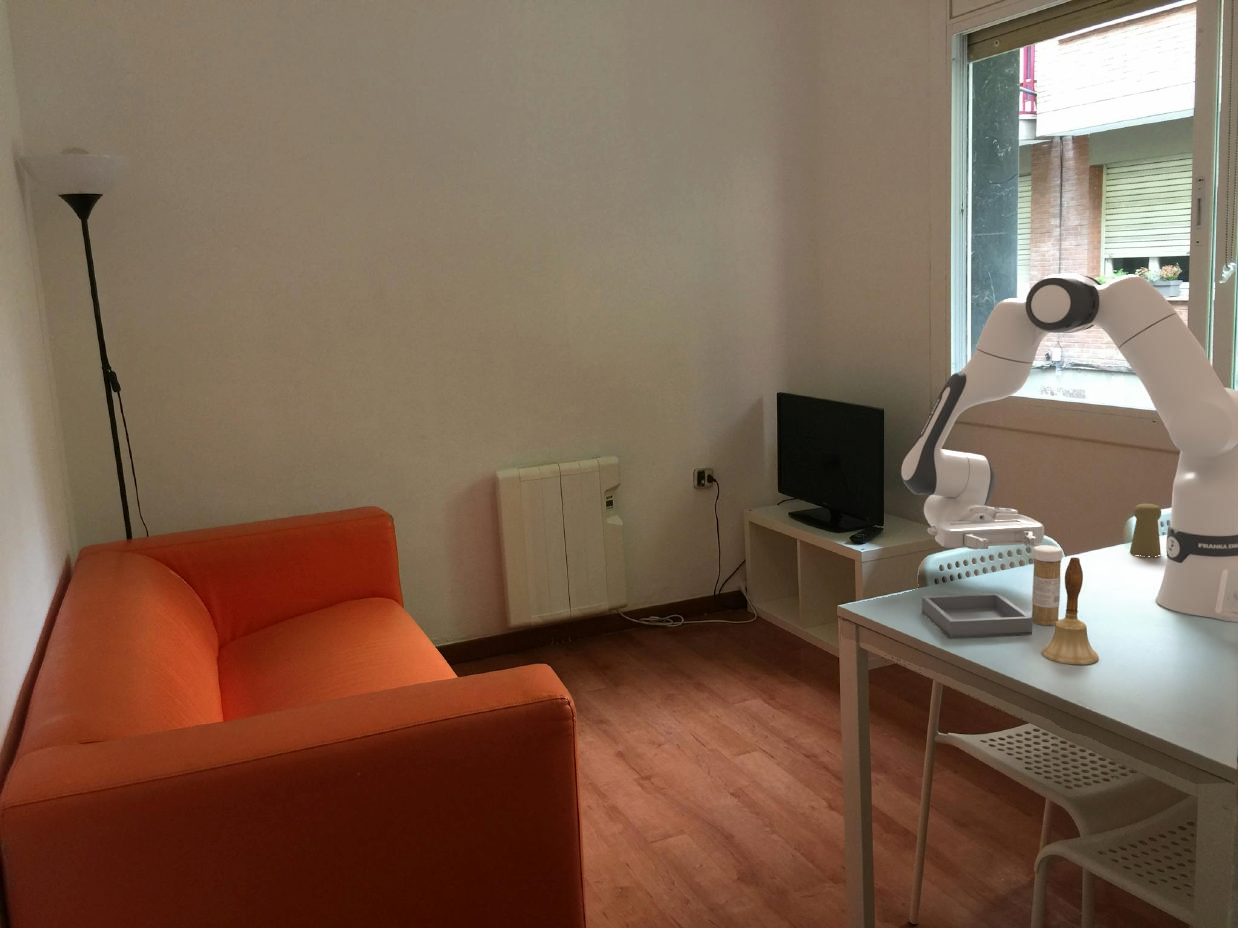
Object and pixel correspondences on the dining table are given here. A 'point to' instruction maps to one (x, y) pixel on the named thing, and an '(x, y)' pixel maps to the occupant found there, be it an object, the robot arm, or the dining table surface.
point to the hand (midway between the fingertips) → (1009, 543)
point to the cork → (1146, 531)
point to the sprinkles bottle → (1046, 584)
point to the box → (976, 616)
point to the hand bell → (1071, 626)
